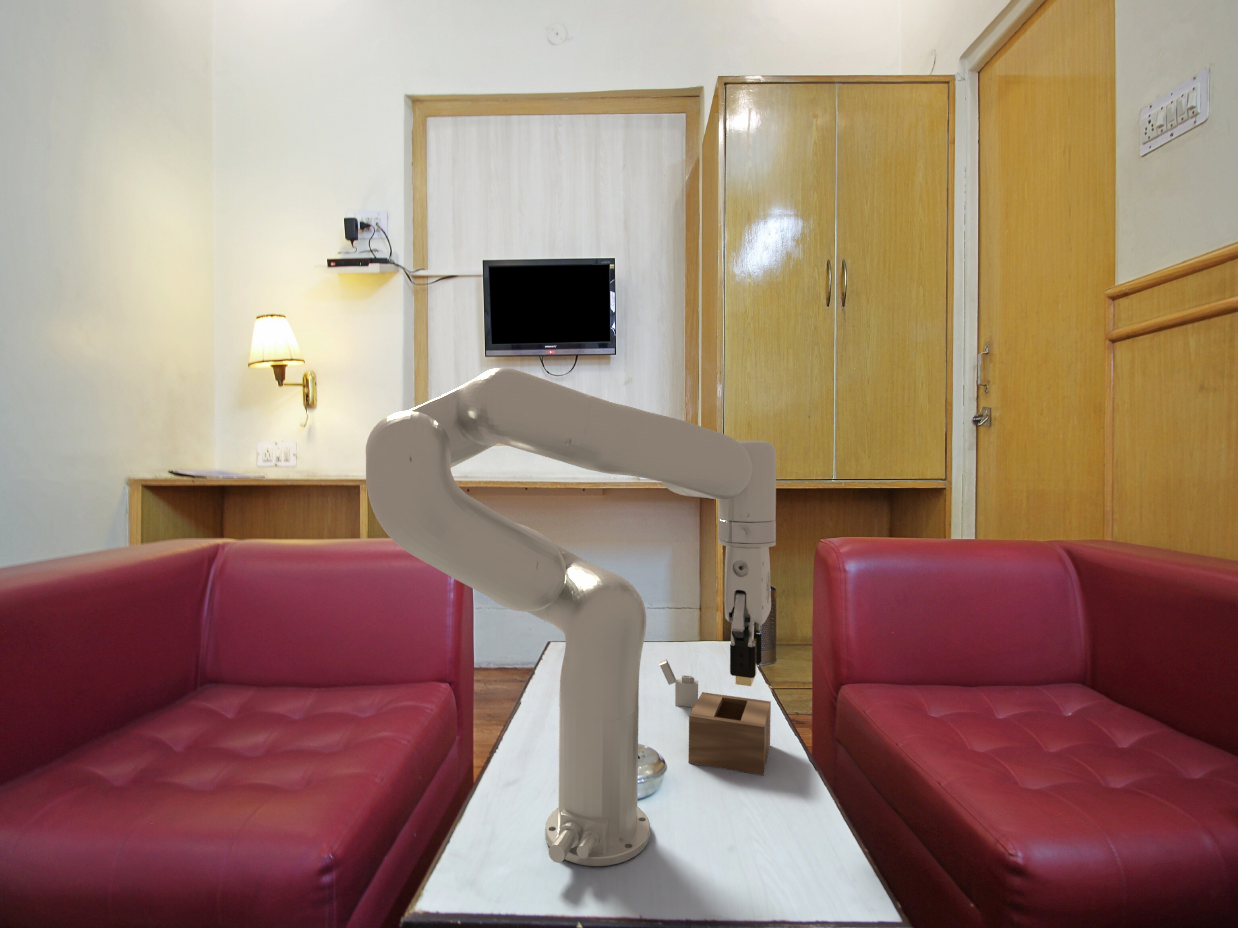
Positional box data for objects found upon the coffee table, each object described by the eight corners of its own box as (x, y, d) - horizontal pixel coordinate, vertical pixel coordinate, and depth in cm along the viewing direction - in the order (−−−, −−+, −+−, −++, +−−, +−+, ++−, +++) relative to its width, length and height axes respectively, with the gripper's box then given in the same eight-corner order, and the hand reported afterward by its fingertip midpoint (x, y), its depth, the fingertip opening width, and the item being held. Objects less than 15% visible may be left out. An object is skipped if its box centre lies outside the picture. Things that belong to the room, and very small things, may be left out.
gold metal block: (751, 686, 80) (751, 647, 80) (735, 684, 81) (735, 646, 81) (756, 673, 85) (756, 637, 85) (741, 671, 85) (742, 635, 85)
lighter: (698, 703, 115) (698, 660, 115) (697, 707, 113) (698, 663, 113) (659, 701, 116) (660, 658, 116) (659, 704, 114) (659, 661, 114)
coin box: (763, 775, 89) (764, 727, 89) (688, 762, 92) (689, 715, 92) (770, 745, 98) (770, 701, 98) (701, 734, 102) (702, 692, 102)
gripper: (767, 543, 73) (766, 696, 73) (782, 527, 89) (781, 653, 89) (705, 540, 76) (704, 687, 76) (730, 525, 92) (729, 647, 92)
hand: (746, 667), depth 83 cm, fingers closed on gold metal block, 4 cm apart
